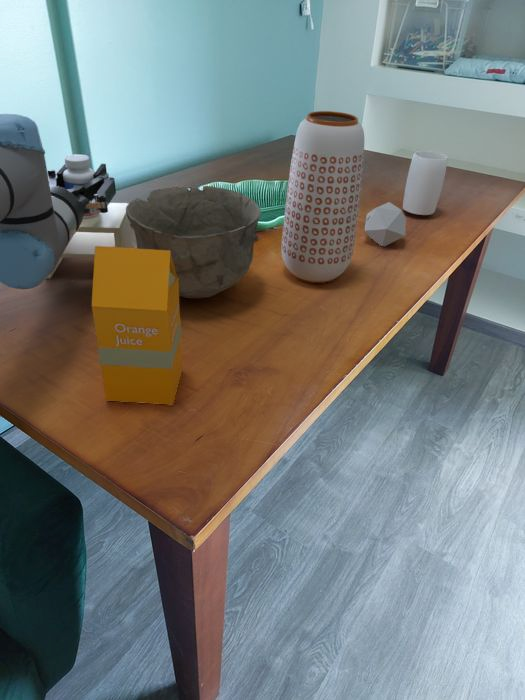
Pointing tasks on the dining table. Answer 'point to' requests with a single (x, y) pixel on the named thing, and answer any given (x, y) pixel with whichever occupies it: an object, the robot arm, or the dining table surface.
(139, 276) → the orange juice
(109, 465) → the dining table surface
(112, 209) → the shelf
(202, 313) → the dining table surface
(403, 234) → the die
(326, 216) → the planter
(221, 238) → the bowl
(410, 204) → the cup
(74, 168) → the pill bottle
